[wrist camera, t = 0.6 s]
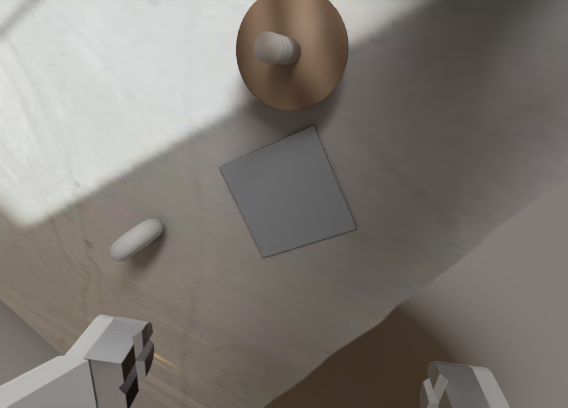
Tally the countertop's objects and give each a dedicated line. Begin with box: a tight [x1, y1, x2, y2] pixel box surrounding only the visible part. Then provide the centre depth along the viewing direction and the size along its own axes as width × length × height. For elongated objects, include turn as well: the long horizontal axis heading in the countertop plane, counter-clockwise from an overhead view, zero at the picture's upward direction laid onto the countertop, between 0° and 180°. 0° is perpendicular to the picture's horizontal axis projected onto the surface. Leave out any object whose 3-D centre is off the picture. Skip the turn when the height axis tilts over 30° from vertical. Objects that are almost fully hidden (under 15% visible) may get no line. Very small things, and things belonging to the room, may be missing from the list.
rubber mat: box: [220, 125, 357, 257], centre depth 59 cm, size 17×17×1 cm
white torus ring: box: [109, 218, 163, 261], centre depth 64 cm, size 10×3×10 cm, turn 130°
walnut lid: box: [236, 0, 348, 111], centre depth 42 cm, size 14×14×9 cm
